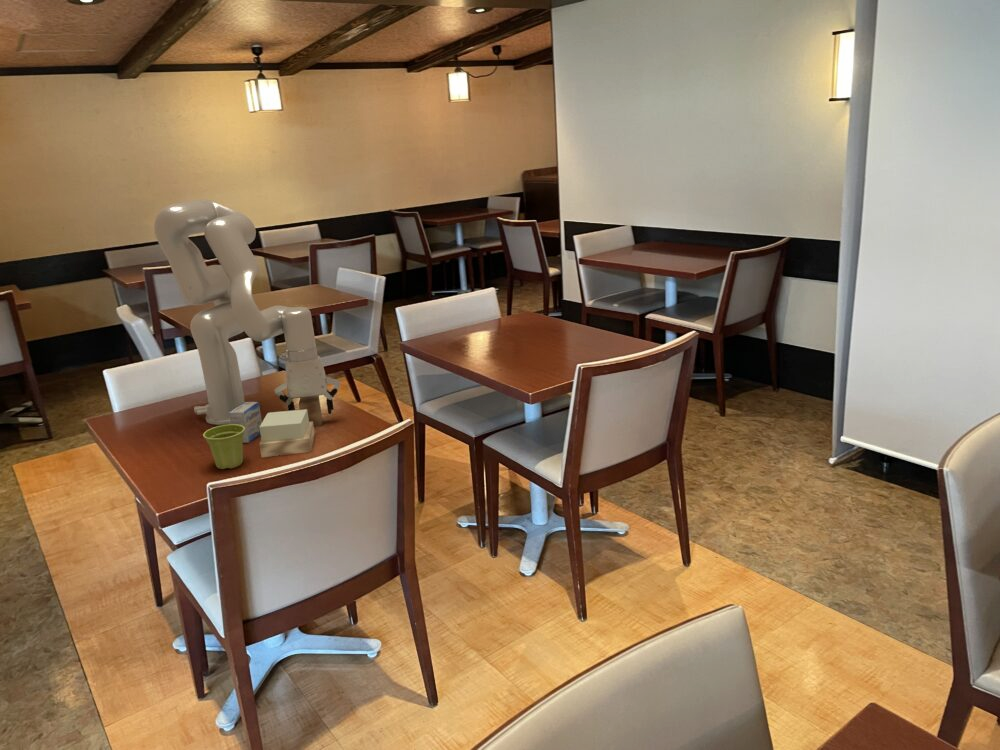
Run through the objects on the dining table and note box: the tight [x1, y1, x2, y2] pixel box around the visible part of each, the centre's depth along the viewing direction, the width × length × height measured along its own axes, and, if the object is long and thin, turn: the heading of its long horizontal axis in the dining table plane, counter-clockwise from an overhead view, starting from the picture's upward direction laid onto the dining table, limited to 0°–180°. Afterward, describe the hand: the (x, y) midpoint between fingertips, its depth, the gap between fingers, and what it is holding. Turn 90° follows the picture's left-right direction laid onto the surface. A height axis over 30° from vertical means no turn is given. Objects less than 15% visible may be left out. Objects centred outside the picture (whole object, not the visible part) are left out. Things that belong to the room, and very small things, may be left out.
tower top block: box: [259, 409, 309, 442], centre depth 189 cm, size 10×10×4 cm
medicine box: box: [229, 401, 263, 444], centre depth 196 cm, size 8×4×9 cm, turn 168°
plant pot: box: [202, 424, 245, 470], centre depth 180 cm, size 9×9×9 cm
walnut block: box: [298, 396, 323, 427], centre depth 203 cm, size 5×5×7 cm
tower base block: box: [259, 422, 316, 459], centre depth 190 cm, size 12×12×4 cm
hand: (312, 414), depth 203 cm, fingers open, 9 cm apart
